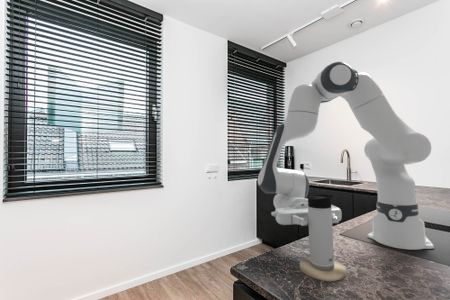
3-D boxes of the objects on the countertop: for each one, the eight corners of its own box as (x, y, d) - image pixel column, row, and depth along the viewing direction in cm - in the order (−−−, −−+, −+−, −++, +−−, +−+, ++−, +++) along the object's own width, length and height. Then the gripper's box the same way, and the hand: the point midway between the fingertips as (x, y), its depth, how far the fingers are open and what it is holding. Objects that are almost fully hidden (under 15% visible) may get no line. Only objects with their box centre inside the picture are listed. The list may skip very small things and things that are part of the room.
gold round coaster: (308, 256, 73) (308, 253, 73) (350, 267, 66) (350, 263, 66) (292, 271, 64) (292, 268, 64) (339, 286, 56) (339, 282, 56)
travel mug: (338, 271, 61) (335, 196, 62) (312, 270, 63) (309, 196, 63) (331, 261, 68) (328, 192, 68) (308, 260, 69) (305, 192, 69)
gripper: (268, 202, 77) (285, 212, 64) (325, 199, 80) (352, 208, 66) (269, 221, 77) (285, 235, 63) (326, 217, 80) (354, 230, 66)
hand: (320, 221), depth 65 cm, fingers open, 8 cm apart
